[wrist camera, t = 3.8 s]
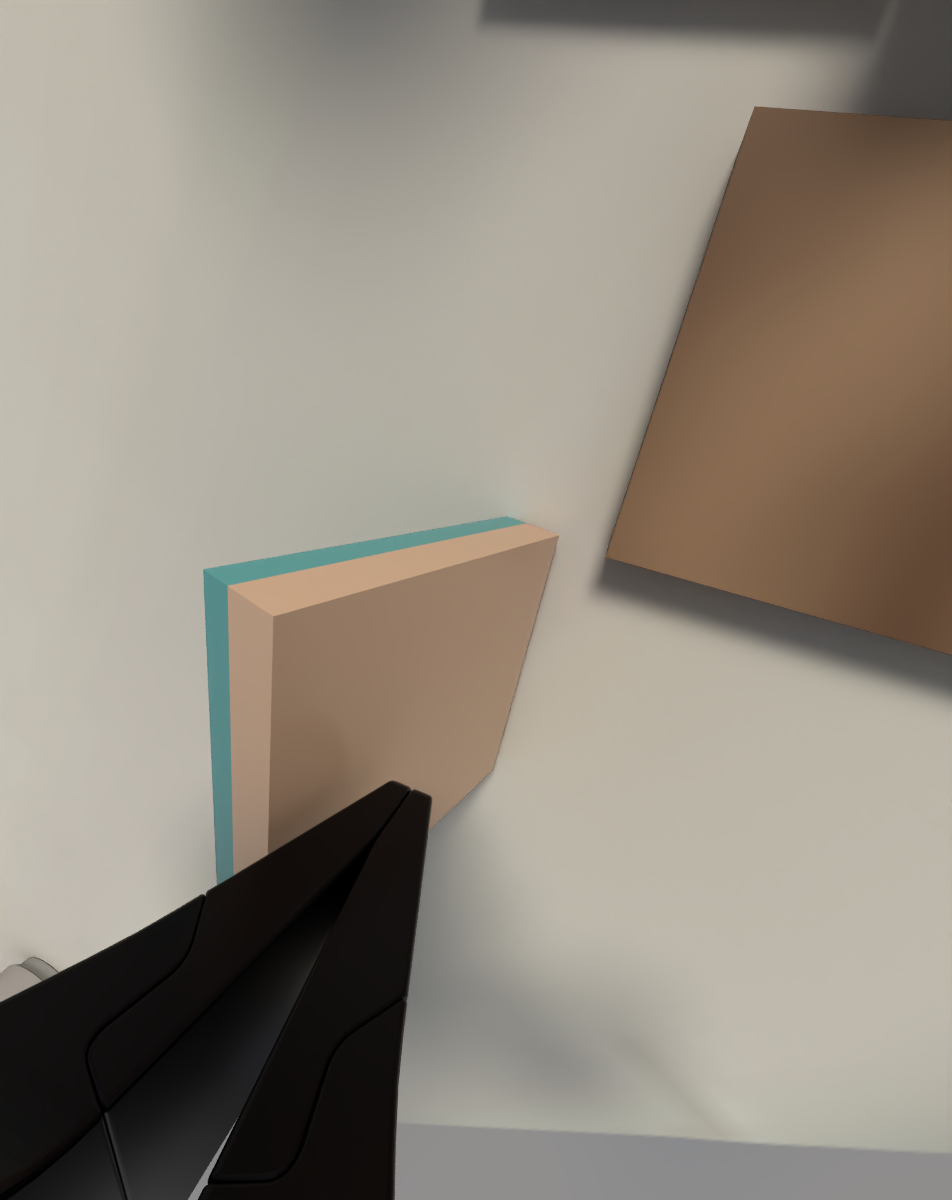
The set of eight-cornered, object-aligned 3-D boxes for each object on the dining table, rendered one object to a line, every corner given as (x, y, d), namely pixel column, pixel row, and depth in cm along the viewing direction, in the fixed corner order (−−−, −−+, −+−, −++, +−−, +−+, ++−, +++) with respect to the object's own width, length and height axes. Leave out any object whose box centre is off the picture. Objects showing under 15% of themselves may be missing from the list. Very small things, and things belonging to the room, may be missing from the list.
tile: (558, 535, 12) (273, 616, 6) (492, 769, 15) (265, 987, 9) (506, 516, 13) (203, 569, 6) (454, 743, 16) (218, 927, 10)
